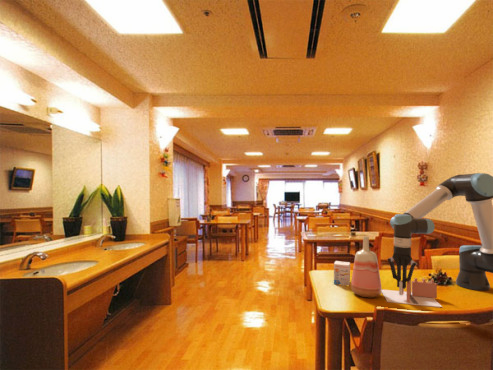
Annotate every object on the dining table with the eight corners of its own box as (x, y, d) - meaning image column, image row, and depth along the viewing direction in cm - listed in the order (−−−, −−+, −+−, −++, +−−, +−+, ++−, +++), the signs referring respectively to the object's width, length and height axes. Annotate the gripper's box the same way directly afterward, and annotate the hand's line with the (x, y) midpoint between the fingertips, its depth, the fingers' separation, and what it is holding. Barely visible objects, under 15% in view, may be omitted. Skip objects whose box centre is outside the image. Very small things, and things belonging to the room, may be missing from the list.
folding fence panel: (407, 295, 146) (407, 278, 146) (410, 296, 145) (410, 278, 145) (406, 302, 136) (406, 283, 137) (409, 302, 136) (409, 284, 136)
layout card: (429, 294, 149) (429, 293, 149) (442, 307, 131) (442, 306, 131) (380, 290, 155) (380, 289, 155) (387, 301, 138) (387, 300, 138)
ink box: (333, 284, 164) (333, 263, 165) (334, 280, 172) (334, 260, 173) (349, 286, 161) (349, 265, 161) (350, 282, 169) (350, 261, 169)
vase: (379, 302, 137) (379, 239, 138) (348, 296, 145) (348, 236, 146) (383, 293, 150) (383, 236, 151) (354, 288, 157) (354, 233, 158)
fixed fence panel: (435, 297, 144) (435, 279, 144) (436, 298, 142) (436, 280, 143) (407, 294, 147) (407, 277, 147) (408, 295, 146) (408, 278, 146)
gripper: (385, 245, 143) (384, 292, 142) (415, 249, 134) (414, 300, 134) (390, 243, 148) (389, 289, 148) (419, 247, 139) (418, 296, 139)
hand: (401, 294), depth 141 cm, fingers closed
